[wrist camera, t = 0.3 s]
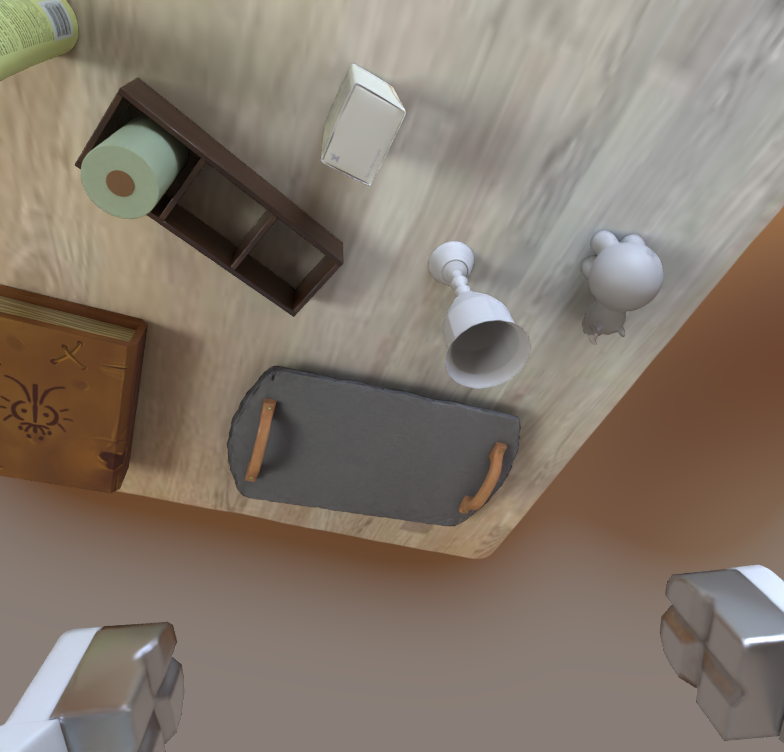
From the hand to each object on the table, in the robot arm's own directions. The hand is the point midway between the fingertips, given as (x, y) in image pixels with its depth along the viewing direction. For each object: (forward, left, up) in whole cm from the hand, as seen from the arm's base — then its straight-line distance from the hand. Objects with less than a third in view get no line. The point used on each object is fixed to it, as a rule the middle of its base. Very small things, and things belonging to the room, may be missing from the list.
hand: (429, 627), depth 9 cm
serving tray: (+31, +31, -51) cm, 67 cm away
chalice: (+6, +19, -51) cm, 55 cm away
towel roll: (+16, -10, -50) cm, 54 cm away
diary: (+47, -6, -51) cm, 69 cm away
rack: (+16, -3, -50) cm, 53 cm away
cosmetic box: (+1, +1, -51) cm, 51 cm away
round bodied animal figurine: (-4, +33, -51) cm, 61 cm away
